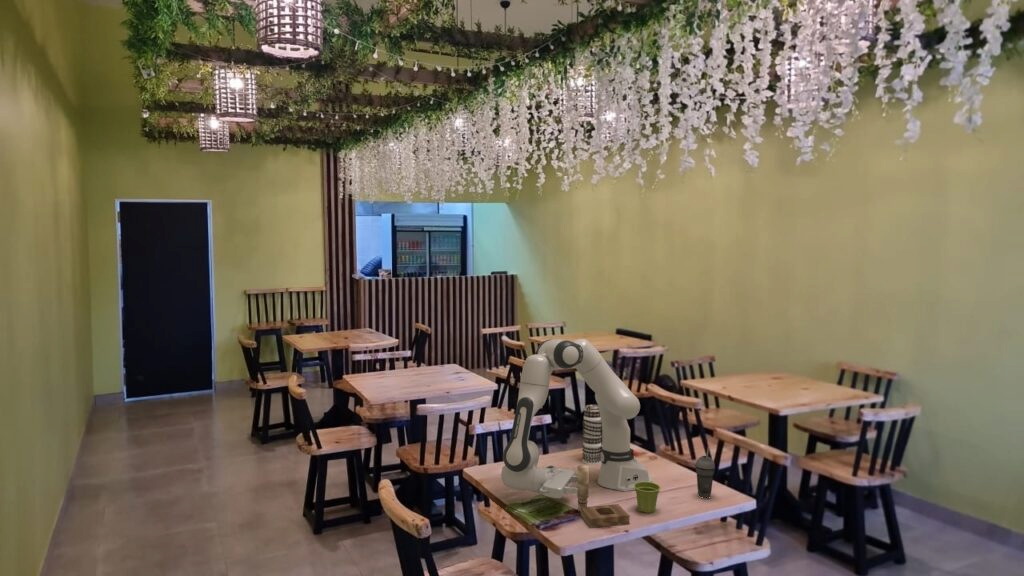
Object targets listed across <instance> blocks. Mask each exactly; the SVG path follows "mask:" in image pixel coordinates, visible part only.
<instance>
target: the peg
mask: <svg viewBox="0 0 1024 576" xmlns="http://www.w3.org/2000/svg"><path fill="white" fill-rule="evenodd" d="M576 468H577V474H576V476H577V482H576V483H577V484H576V487H578V488H579V491H578V493H577V494H576V498H577V511H578V512H579V511H580V512H579V513H581V507H588V499H589V481H590V480H589V477H590V476H589V475H590V474H589V470H590V467H589V466H588V465H587V464H586V465H585V464H580V465H578V466H577V467H576Z"/></svg>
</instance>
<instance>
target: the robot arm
mask: <svg viewBox="0 0 1024 576" xmlns="http://www.w3.org/2000/svg"><path fill="white" fill-rule="evenodd" d="M574 367H575V369H576V370H577V372H578V374H579V375H580V376H581V377H582V379H583V380H584V381H585V383H586V385H587V386H588V387H589V388H590V389H591V390H592V391H593V392H594V393H595V394H594V398H595V399H594V400H595V401H596V403H597V404H596V405H598V407H599V412H600V418H601V423H602V424H601V426H602V432H601V434H602V437H601V446H602V447H601V463H600V464H601V465H600V471H599V476H598V478H597V483H598V485H600V486H601V487H604V488H606V489H611V490H617V491H620V492H629V491H635V488H634V484H635V483H638V482H652V483H655V481H654V480H653V478H651V476H649V471H648V469H647V468H648V467H646V465H644V464H643V463H642V462H641V461H639V460H638V459H637V457H639V455H640V454H639V452H638V451H637V450H634V449H633V448H631V428H630V426H629V423H628V421H627V420H631V419H633V418H635V417H637V415H638V414H639V412H640V409H641V404H640V400H639V398H637V396H636V395H635V394H634V393H633V392H632V391H631V389H630V388H629V387H628V386H627V385H626V383H624V382H623V380H622V379H620V377H619V376H618V375H617V374H616V373H615V372H614V371H613V370H612V368H611V367H610V365H608V363H607V361H606V360H605V358H603V356H602V355H601V353H600V352H599V351H598V349H596V347H595V346H594V345H593V343H591V342H590V341H588V339H585V338H578V339H576V340H574V341H572V340H566V339H559V338H557V339H546V340H544V341H542V342H541V343H540V344H539V345H538V347H537V348H536V350H535V352H534V354H531V355H529V356H527V357H526V359H525V361H524V364H523V368H522V371H521V375H520V381H519V382H520V383H519V389H518V398H517V403H516V408H515V409H516V410H515V413H514V418H513V423H512V427H511V432H510V433H511V434H510V438H509V441H508V443H507V445H506V446H505V447H504V449H503V453H502V461H503V464H504V465H503V466H502V469H501V480H502V483H503V485H504V486H505V487H507V488H510V489H513V490H517V491H525V492H527V491H531V492H533V493H538V494H542V495H543V496H546V497H549V498H554V499H561V498H563V497H564V495H565V494H566V495H568V494H576V495H577V493H578V491H579V488H578V487H577V486H573V487H571V486H572V485H573V484H574V483H577V475H576V471H575V470H573V469H569V468H563V467H556V466H555V465H549V466H546V467H537V465H538V463H539V458H540V449H539V446H538V444H537V443H535V442H534V441H533V440H529V437H530V431H531V426H532V425H531V424H532V421H533V420H534V419H533V418H534V417H535V415H536V414H537V413H538V411H539V410H540V409H541V408H542V407H543V406H544V405H545V403H546V400H547V398H548V395H549V390H550V382H551V375H552V374H553V371H554V370H555V369H563V370H564V369H565V370H568V369H572V368H574ZM635 457H636V458H635Z"/></svg>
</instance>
